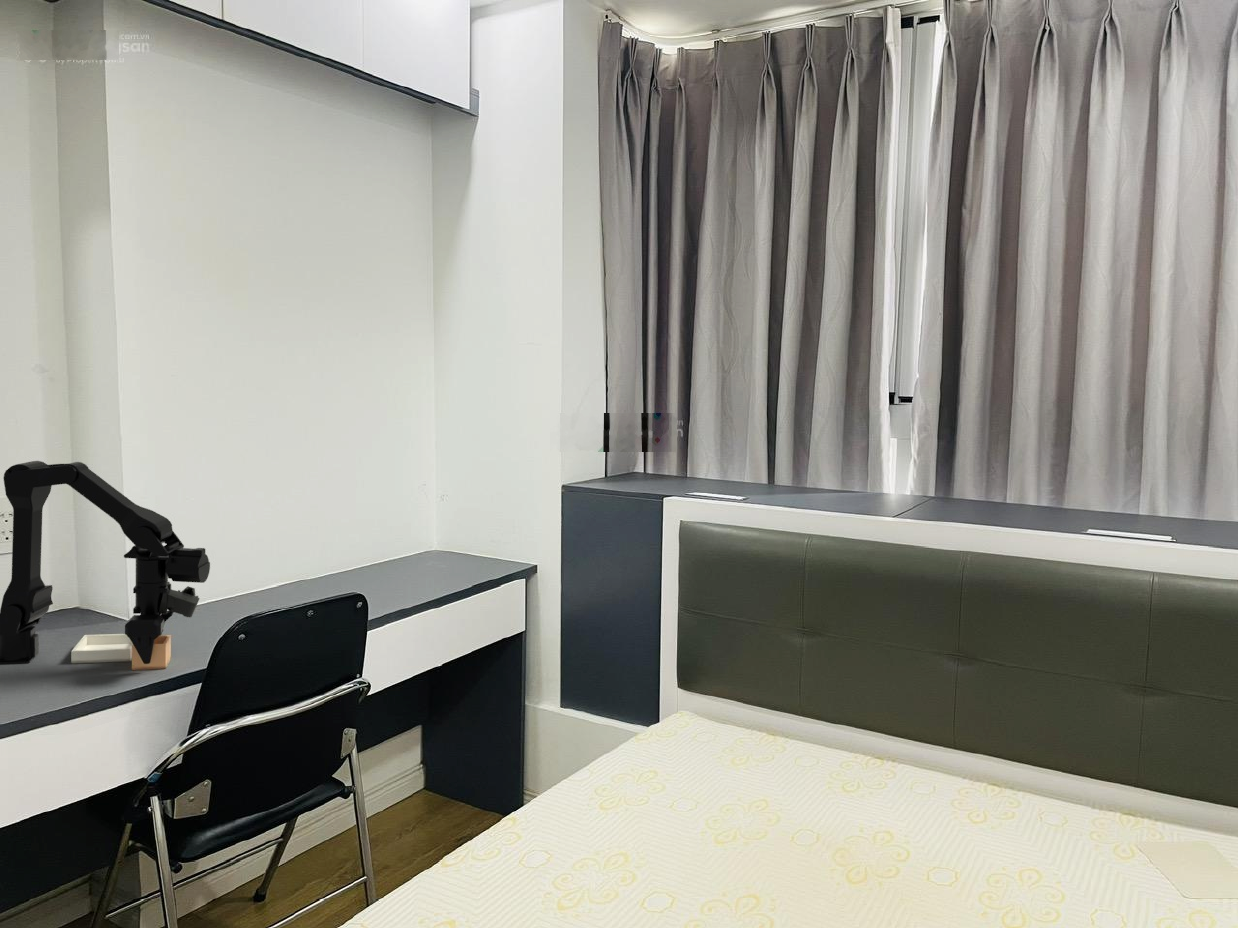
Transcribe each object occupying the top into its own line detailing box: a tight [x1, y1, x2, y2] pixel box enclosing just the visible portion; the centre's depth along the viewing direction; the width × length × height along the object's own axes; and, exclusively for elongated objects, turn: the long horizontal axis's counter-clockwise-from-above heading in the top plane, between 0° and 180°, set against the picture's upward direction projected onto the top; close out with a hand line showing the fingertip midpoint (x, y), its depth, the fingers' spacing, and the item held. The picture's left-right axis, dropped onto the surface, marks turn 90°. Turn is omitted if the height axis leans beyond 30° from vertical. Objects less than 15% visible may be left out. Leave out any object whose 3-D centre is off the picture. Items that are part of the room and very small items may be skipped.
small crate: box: [131, 634, 172, 671], centre depth 180 cm, size 6×6×5 cm
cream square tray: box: [70, 633, 133, 664], centre depth 184 cm, size 10×10×2 cm
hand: (151, 655), depth 180 cm, fingers open, 9 cm apart
